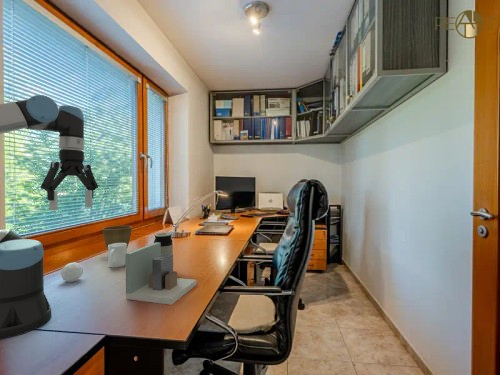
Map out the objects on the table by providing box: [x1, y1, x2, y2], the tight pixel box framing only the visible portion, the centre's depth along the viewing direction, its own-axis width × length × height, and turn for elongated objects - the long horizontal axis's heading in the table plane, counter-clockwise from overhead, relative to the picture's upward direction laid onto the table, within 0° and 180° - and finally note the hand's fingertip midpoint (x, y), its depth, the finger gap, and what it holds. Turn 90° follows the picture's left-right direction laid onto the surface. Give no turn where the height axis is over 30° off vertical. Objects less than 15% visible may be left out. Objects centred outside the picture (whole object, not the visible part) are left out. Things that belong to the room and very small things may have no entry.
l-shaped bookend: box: [125, 242, 197, 306], centre depth 99 cm, size 18×18×16 cm
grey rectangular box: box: [152, 253, 174, 291], centre depth 99 cm, size 8×4×11 cm, turn 165°
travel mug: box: [153, 232, 174, 255], centre depth 118 cm, size 8×8×18 cm
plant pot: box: [102, 225, 133, 251], centre depth 149 cm, size 15×15×16 cm
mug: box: [107, 243, 128, 269], centre depth 129 cm, size 12×8×10 cm
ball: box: [60, 261, 84, 283], centre depth 110 cm, size 8×8×8 cm
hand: (72, 208), depth 96 cm, fingers open, 13 cm apart
